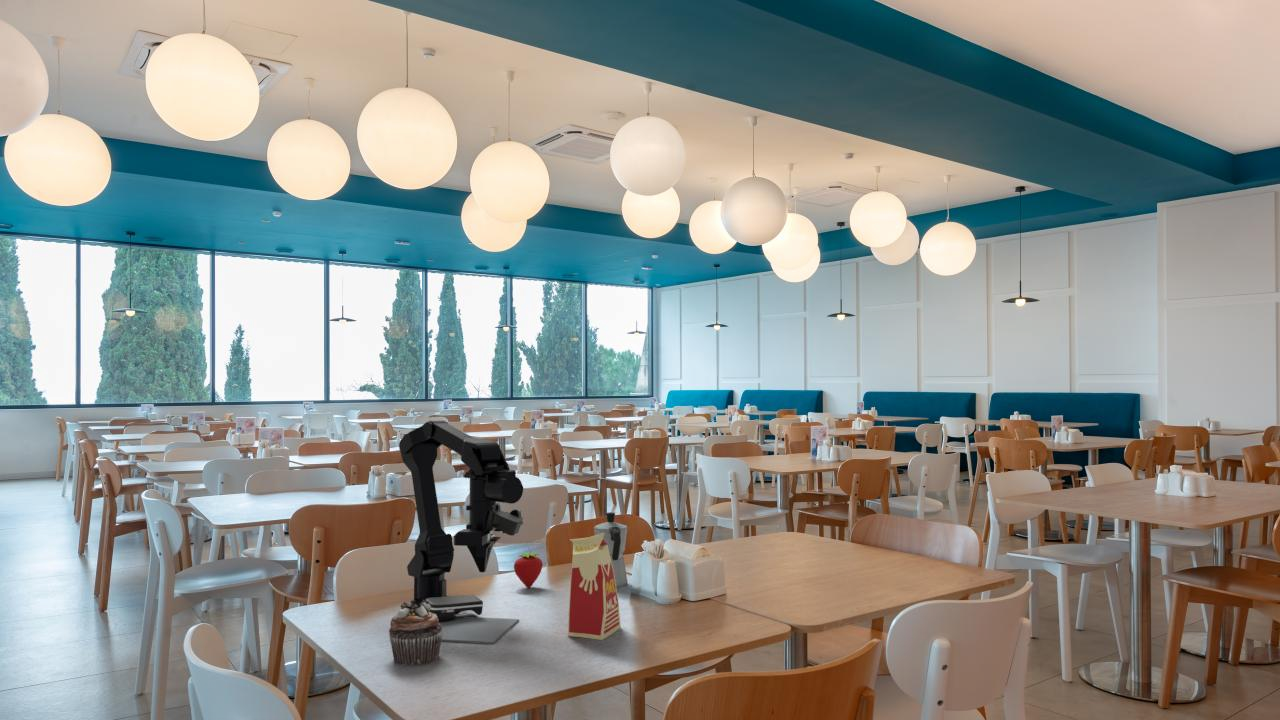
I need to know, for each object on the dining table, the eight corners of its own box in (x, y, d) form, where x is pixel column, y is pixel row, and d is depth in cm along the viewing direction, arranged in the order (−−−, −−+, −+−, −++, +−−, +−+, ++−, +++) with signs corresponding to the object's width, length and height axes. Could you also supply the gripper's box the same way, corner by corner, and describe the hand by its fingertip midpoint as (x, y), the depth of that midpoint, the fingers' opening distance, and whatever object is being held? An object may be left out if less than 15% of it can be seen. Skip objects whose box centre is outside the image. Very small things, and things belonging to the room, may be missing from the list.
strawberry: (509, 587, 201) (509, 547, 201) (535, 583, 205) (535, 543, 206) (520, 592, 196) (520, 550, 197) (547, 587, 201) (547, 547, 201)
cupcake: (392, 670, 141) (392, 612, 141) (386, 653, 150) (386, 599, 150) (447, 662, 145) (448, 606, 145) (438, 647, 154) (438, 594, 154)
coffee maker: (589, 579, 210) (589, 509, 210) (622, 577, 212) (622, 508, 213) (600, 592, 195) (600, 518, 196) (635, 590, 197) (635, 516, 198)
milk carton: (620, 627, 166) (620, 529, 167) (604, 640, 158) (604, 537, 158) (580, 623, 169) (580, 527, 170) (561, 636, 161) (561, 534, 161)
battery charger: (472, 611, 179) (421, 615, 173) (473, 593, 179) (422, 597, 173) (483, 619, 173) (430, 624, 167) (484, 601, 173) (431, 605, 167)
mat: (405, 639, 158) (405, 637, 158) (438, 617, 174) (438, 615, 174) (492, 644, 155) (492, 641, 155) (518, 621, 171) (518, 619, 171)
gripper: (504, 506, 165) (504, 583, 165) (531, 495, 184) (530, 564, 183) (452, 505, 167) (452, 581, 167) (484, 494, 186) (484, 562, 185)
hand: (482, 571), depth 175 cm, fingers closed
